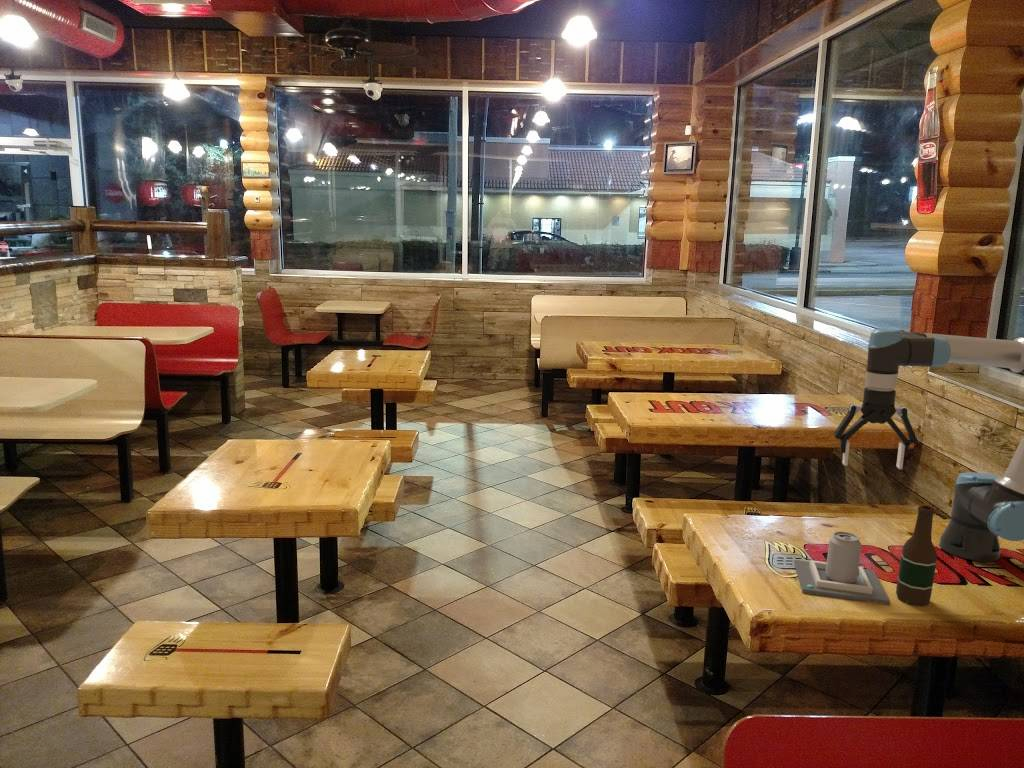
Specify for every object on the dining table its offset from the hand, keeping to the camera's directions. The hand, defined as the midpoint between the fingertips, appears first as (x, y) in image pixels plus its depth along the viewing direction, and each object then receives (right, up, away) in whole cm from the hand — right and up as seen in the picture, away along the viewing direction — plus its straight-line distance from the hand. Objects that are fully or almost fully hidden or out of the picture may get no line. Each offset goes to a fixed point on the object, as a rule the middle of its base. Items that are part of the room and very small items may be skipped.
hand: (871, 466), depth 207 cm
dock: (-12, -29, -7) cm, 32 cm away
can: (-12, -28, -8) cm, 32 cm away
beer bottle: (+3, -32, -15) cm, 35 cm away
